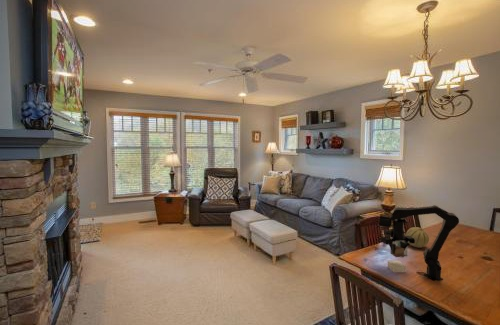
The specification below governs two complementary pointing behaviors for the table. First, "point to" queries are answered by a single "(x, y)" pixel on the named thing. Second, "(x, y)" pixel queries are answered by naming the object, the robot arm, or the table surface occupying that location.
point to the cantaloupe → (418, 237)
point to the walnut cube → (398, 251)
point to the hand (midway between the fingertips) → (397, 253)
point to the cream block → (396, 266)
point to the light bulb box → (399, 245)
